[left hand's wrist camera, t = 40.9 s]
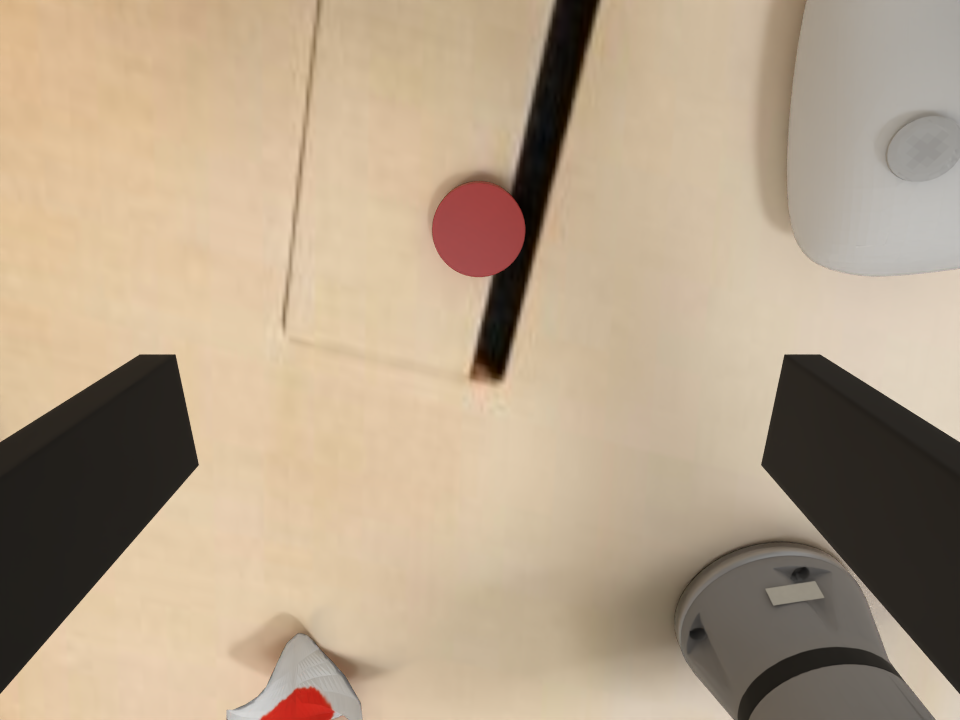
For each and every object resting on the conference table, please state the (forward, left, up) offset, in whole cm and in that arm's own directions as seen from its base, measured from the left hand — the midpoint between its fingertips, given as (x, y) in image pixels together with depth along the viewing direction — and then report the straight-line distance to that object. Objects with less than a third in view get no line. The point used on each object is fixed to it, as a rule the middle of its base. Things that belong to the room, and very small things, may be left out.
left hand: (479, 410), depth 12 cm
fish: (-20, +39, -26) cm, 51 cm away
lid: (0, 0, -25) cm, 25 cm away
